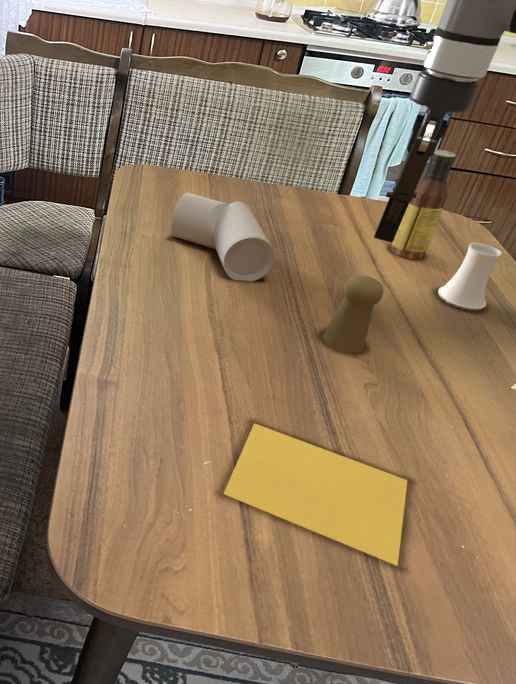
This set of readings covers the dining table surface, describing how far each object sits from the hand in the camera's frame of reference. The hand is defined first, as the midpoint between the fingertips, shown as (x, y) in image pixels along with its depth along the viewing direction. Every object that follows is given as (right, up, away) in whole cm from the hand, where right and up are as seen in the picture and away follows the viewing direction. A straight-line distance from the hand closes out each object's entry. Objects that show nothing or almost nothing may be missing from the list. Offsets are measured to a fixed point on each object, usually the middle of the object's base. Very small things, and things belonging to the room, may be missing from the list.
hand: (383, 238), depth 103 cm
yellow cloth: (-20, -32, -26) cm, 46 cm away
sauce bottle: (+19, +2, +30) cm, 35 cm away
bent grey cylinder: (-19, 0, +21) cm, 29 cm away
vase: (+21, -9, +15) cm, 27 cm away
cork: (-6, -16, 0) cm, 17 cm away
